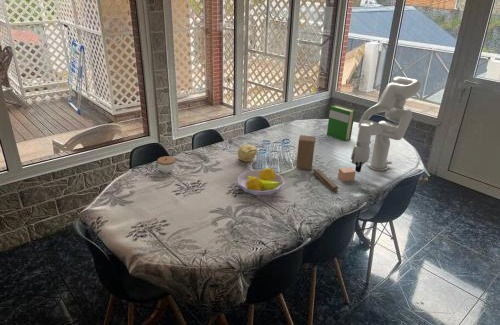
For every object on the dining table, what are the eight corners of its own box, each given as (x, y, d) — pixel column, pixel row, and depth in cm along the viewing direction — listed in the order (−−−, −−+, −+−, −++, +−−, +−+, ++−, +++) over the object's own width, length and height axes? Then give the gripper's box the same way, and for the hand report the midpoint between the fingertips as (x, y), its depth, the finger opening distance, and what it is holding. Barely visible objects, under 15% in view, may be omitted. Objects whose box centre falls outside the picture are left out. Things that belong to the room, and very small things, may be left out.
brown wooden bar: (318, 173, 231) (318, 168, 230) (337, 191, 211) (338, 186, 209) (313, 173, 230) (314, 169, 229) (332, 191, 210) (333, 187, 208)
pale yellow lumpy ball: (245, 165, 237) (246, 149, 233) (234, 159, 245) (234, 144, 241) (258, 160, 244) (259, 146, 240) (247, 155, 252) (247, 140, 248)
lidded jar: (179, 171, 226) (178, 157, 222) (164, 176, 218) (163, 162, 214) (169, 165, 232) (168, 152, 228) (154, 170, 225) (153, 157, 221)
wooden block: (311, 170, 234) (314, 141, 226) (295, 168, 236) (298, 139, 227) (312, 164, 243) (315, 136, 235) (297, 162, 245) (300, 134, 236)
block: (349, 176, 229) (350, 167, 227) (354, 180, 224) (355, 171, 222) (337, 177, 227) (339, 168, 225) (342, 181, 222) (343, 172, 220)
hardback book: (350, 139, 288) (355, 109, 278) (345, 141, 284) (349, 111, 274) (332, 133, 300) (336, 104, 290) (326, 134, 295) (330, 106, 285)
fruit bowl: (230, 182, 215) (230, 165, 210) (271, 175, 225) (272, 159, 220) (248, 206, 192) (249, 187, 187) (293, 197, 202) (295, 179, 197)
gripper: (369, 140, 224) (364, 167, 231) (348, 142, 219) (344, 169, 227) (377, 145, 217) (371, 172, 225) (355, 147, 213) (350, 175, 221)
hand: (357, 171), depth 226 cm, fingers closed
